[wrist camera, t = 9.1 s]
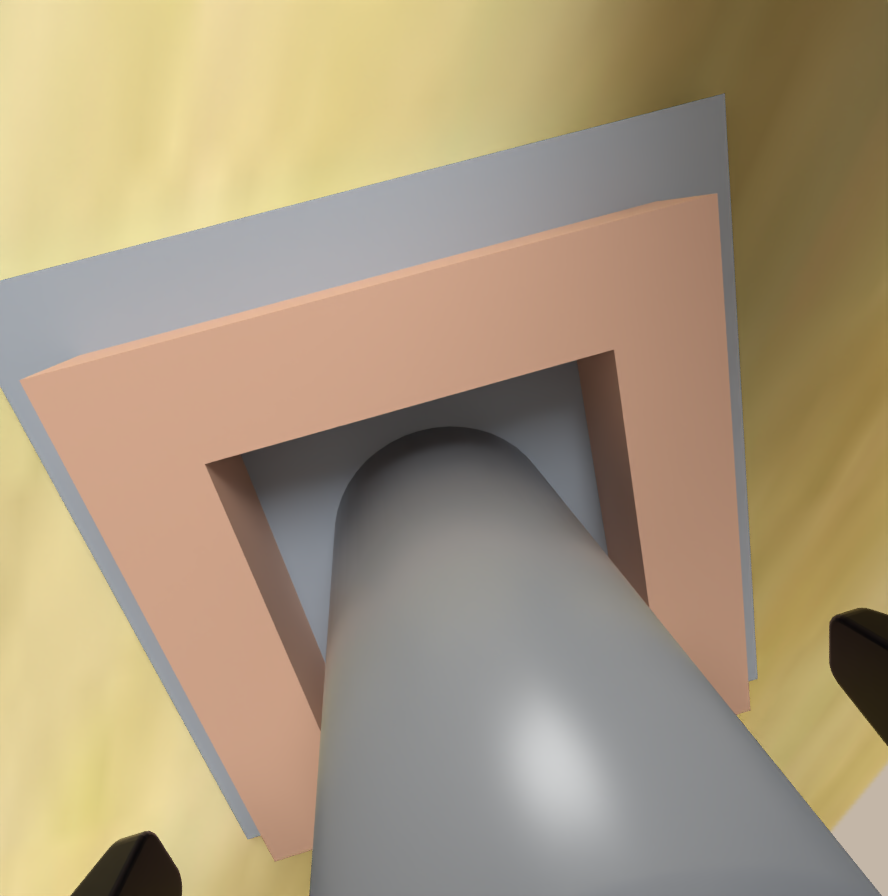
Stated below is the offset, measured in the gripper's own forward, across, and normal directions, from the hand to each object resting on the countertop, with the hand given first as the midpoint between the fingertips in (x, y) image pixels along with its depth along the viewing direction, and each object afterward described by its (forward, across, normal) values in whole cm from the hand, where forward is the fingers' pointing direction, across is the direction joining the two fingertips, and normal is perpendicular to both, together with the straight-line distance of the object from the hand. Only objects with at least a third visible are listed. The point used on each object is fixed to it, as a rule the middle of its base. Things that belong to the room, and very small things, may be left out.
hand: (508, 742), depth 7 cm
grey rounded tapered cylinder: (+6, 0, 0) cm, 6 cm away
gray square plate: (+6, 0, 0) cm, 6 cm away
